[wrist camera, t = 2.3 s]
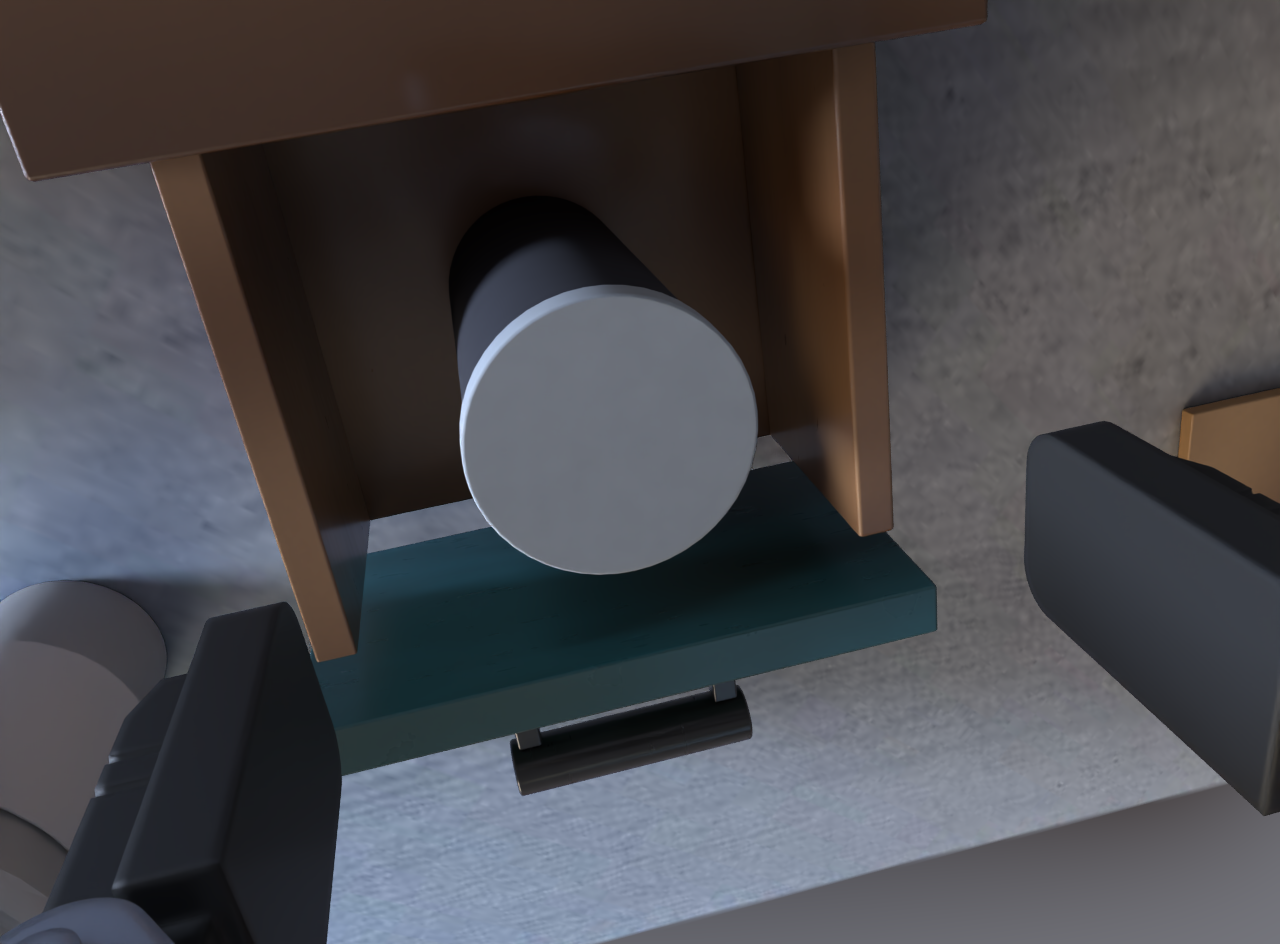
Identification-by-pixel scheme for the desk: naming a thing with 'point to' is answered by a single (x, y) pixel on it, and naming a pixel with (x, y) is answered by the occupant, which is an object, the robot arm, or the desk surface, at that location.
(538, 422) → the roller
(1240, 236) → the desk surface
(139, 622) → the cup
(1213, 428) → the pad
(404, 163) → the drawer
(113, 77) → the cabinet
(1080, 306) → the desk surface
